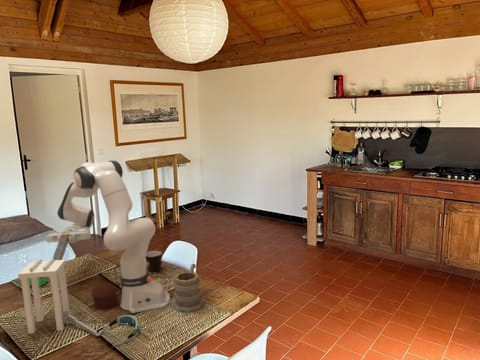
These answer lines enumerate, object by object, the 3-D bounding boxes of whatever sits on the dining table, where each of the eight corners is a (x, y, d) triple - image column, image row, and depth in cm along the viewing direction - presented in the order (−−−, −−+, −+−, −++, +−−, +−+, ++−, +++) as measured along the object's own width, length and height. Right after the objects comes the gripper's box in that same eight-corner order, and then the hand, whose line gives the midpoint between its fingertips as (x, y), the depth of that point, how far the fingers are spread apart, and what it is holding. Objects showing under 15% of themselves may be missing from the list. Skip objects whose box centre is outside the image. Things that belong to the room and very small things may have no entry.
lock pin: (70, 236, 187) (68, 231, 185) (57, 272, 167) (56, 267, 165) (63, 237, 186) (62, 232, 184) (50, 273, 166) (48, 268, 165)
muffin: (123, 300, 178) (121, 280, 176) (109, 312, 167) (107, 291, 166) (101, 297, 181) (99, 278, 179) (86, 309, 170) (84, 288, 169)
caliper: (63, 324, 159) (62, 310, 158) (66, 323, 160) (64, 309, 159) (97, 336, 149) (96, 322, 148) (99, 335, 150) (98, 321, 149)
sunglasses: (146, 332, 152) (144, 321, 150) (113, 354, 141) (111, 343, 140) (126, 320, 161) (124, 310, 159) (94, 340, 150) (91, 330, 149)
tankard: (197, 313, 165) (195, 281, 162) (169, 310, 167) (167, 279, 165) (209, 291, 184) (208, 262, 181) (185, 290, 186) (183, 261, 184)
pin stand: (71, 315, 166) (64, 256, 161) (63, 330, 154) (55, 267, 149) (37, 318, 164) (29, 258, 159) (26, 334, 152) (17, 270, 147)
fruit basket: (50, 281, 201) (48, 261, 199) (40, 289, 192) (37, 268, 190) (30, 281, 202) (28, 261, 200) (19, 288, 193) (16, 268, 191)
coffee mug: (145, 268, 213) (144, 252, 211) (161, 266, 216) (160, 250, 214) (147, 277, 202) (145, 259, 200) (163, 274, 205) (162, 257, 203)
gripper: (51, 229, 194) (40, 234, 180) (92, 226, 197) (85, 231, 183) (52, 241, 194) (41, 247, 181) (93, 238, 197) (86, 244, 183)
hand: (64, 239), depth 182 cm, fingers closed on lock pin, 3 cm apart
